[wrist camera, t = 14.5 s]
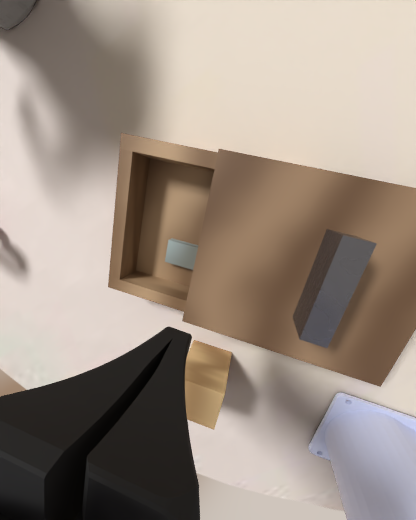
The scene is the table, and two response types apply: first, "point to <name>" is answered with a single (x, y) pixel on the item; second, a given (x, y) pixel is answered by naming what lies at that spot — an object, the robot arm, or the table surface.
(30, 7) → the coffeepot
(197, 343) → the wooden block
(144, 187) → the brown shallow open box
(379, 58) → the table surface
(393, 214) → the lid
